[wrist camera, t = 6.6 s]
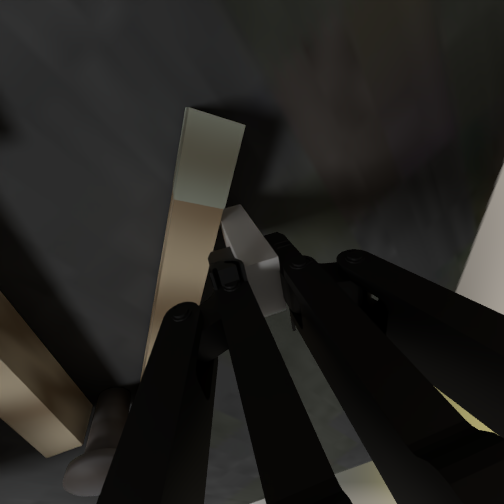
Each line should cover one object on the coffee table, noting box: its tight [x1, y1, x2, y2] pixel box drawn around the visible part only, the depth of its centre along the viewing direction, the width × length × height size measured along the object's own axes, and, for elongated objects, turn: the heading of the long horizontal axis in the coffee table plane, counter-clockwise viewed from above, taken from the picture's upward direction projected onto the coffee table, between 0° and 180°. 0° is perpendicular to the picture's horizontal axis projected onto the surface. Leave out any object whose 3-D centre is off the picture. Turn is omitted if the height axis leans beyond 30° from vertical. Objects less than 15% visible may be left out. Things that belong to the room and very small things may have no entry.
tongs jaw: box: [140, 107, 246, 381], centre depth 17 cm, size 22×2×3 cm, turn 164°
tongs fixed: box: [0, 291, 131, 496], centre depth 15 cm, size 24×6×6 cm, turn 11°
